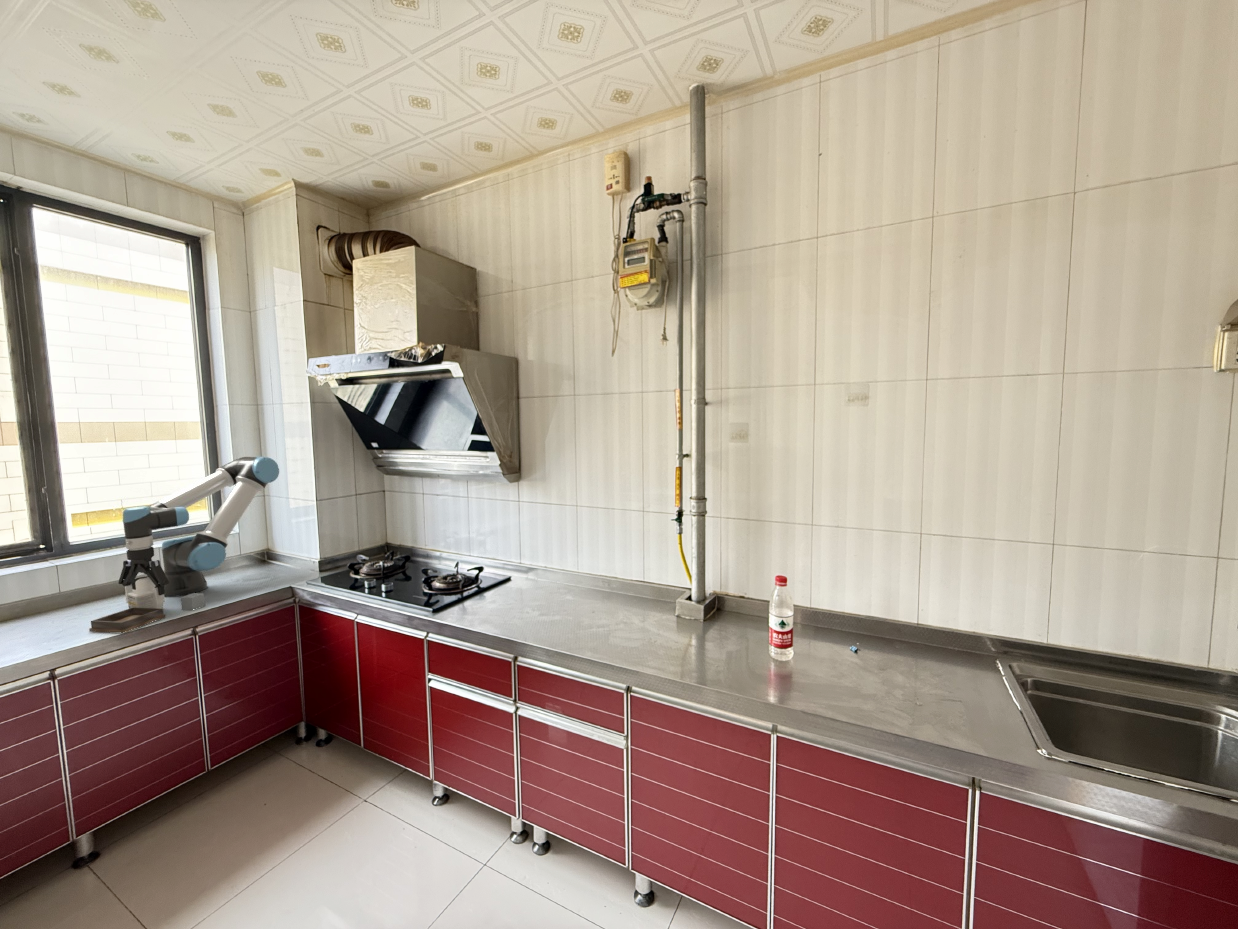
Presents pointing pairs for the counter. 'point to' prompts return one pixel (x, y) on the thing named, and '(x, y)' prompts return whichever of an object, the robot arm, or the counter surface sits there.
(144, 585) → the container
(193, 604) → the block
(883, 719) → the counter surface
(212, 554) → the robot arm
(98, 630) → the tray
